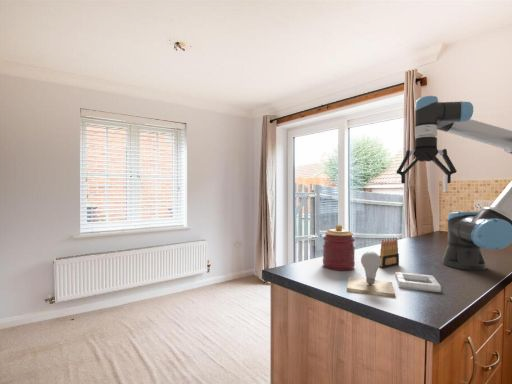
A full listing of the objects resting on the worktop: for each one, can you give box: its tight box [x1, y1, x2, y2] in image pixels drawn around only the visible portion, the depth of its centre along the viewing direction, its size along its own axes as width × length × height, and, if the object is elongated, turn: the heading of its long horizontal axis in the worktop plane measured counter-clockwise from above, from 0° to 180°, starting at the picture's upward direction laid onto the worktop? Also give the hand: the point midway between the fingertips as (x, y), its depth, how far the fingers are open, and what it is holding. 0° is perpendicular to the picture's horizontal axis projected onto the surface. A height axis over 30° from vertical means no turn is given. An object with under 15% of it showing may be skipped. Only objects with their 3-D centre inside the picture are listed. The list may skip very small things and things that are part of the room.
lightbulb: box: [360, 251, 381, 285], centre depth 96 cm, size 6×6×11 cm
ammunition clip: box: [379, 237, 400, 269], centre depth 123 cm, size 11×2×12 cm, turn 120°
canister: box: [322, 224, 356, 271], centre depth 121 cm, size 13×13×18 cm
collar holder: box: [394, 271, 442, 293], centre depth 100 cm, size 12×12×2 cm
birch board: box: [346, 276, 396, 298], centre depth 96 cm, size 14×12×1 cm
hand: (424, 192), depth 114 cm, fingers open, 13 cm apart
